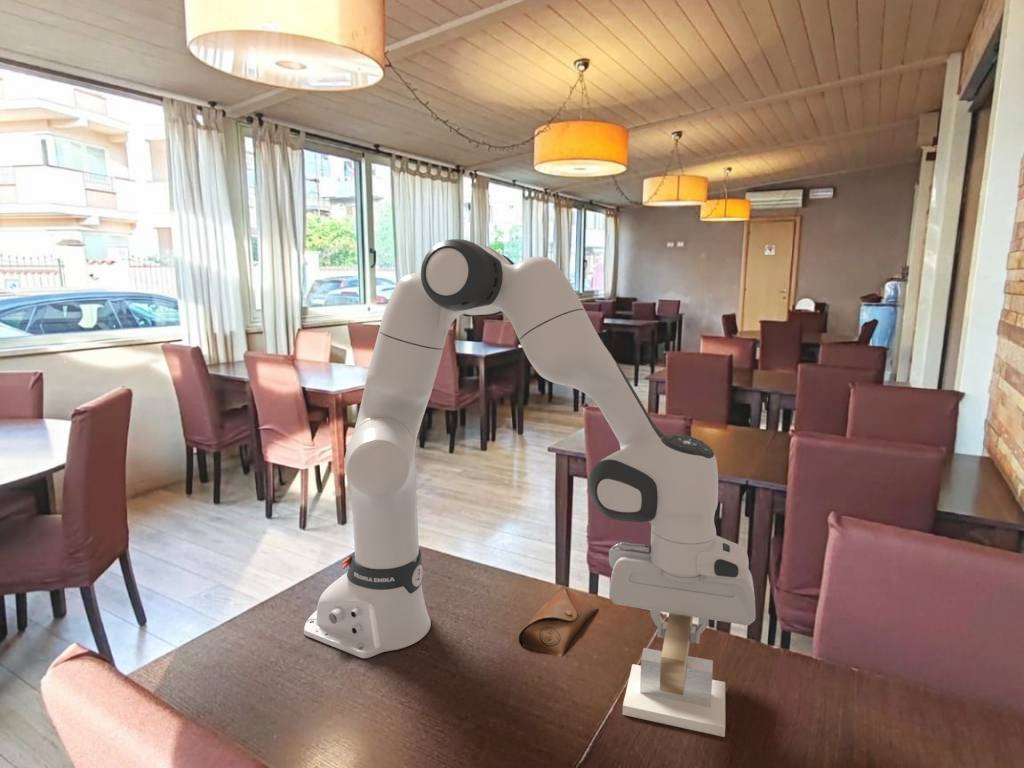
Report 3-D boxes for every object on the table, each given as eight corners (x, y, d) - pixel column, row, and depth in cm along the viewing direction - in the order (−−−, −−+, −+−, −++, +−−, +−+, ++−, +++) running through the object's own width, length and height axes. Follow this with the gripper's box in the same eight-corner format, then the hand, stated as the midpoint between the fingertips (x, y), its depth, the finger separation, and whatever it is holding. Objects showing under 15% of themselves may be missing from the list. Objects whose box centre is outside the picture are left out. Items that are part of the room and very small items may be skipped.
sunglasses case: (563, 659, 102) (545, 622, 103) (530, 668, 106) (512, 632, 106) (600, 607, 118) (584, 575, 118) (570, 616, 121) (555, 585, 122)
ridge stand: (622, 714, 90) (623, 671, 88) (632, 672, 99) (633, 632, 98) (724, 737, 85) (727, 691, 84) (724, 690, 94) (727, 649, 93)
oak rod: (659, 690, 82) (660, 656, 81) (673, 611, 100) (675, 583, 99) (683, 695, 81) (684, 661, 80) (693, 614, 99) (694, 586, 98)
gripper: (605, 549, 88) (603, 637, 91) (759, 570, 82) (753, 664, 84) (612, 531, 94) (611, 615, 96) (757, 549, 87) (751, 638, 90)
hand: (678, 638), depth 90 cm, fingers closed on oak rod, 3 cm apart
